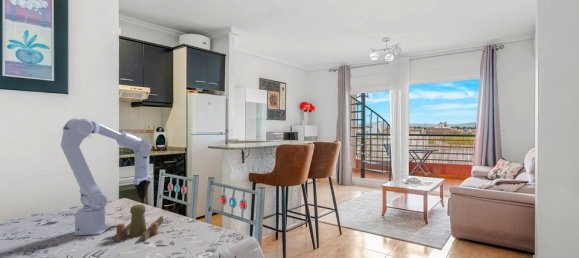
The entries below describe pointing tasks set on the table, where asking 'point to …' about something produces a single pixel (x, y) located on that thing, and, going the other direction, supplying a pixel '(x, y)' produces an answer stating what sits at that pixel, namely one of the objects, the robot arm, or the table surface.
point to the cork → (137, 221)
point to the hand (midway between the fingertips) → (142, 197)
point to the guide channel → (150, 231)
